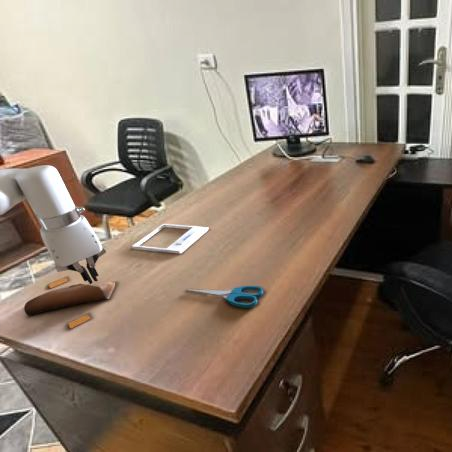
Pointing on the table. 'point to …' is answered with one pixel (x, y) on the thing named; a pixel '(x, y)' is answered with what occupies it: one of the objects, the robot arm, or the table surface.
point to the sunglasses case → (69, 296)
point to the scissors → (236, 295)
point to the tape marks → (77, 321)
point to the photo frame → (178, 244)
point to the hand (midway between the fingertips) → (92, 280)
